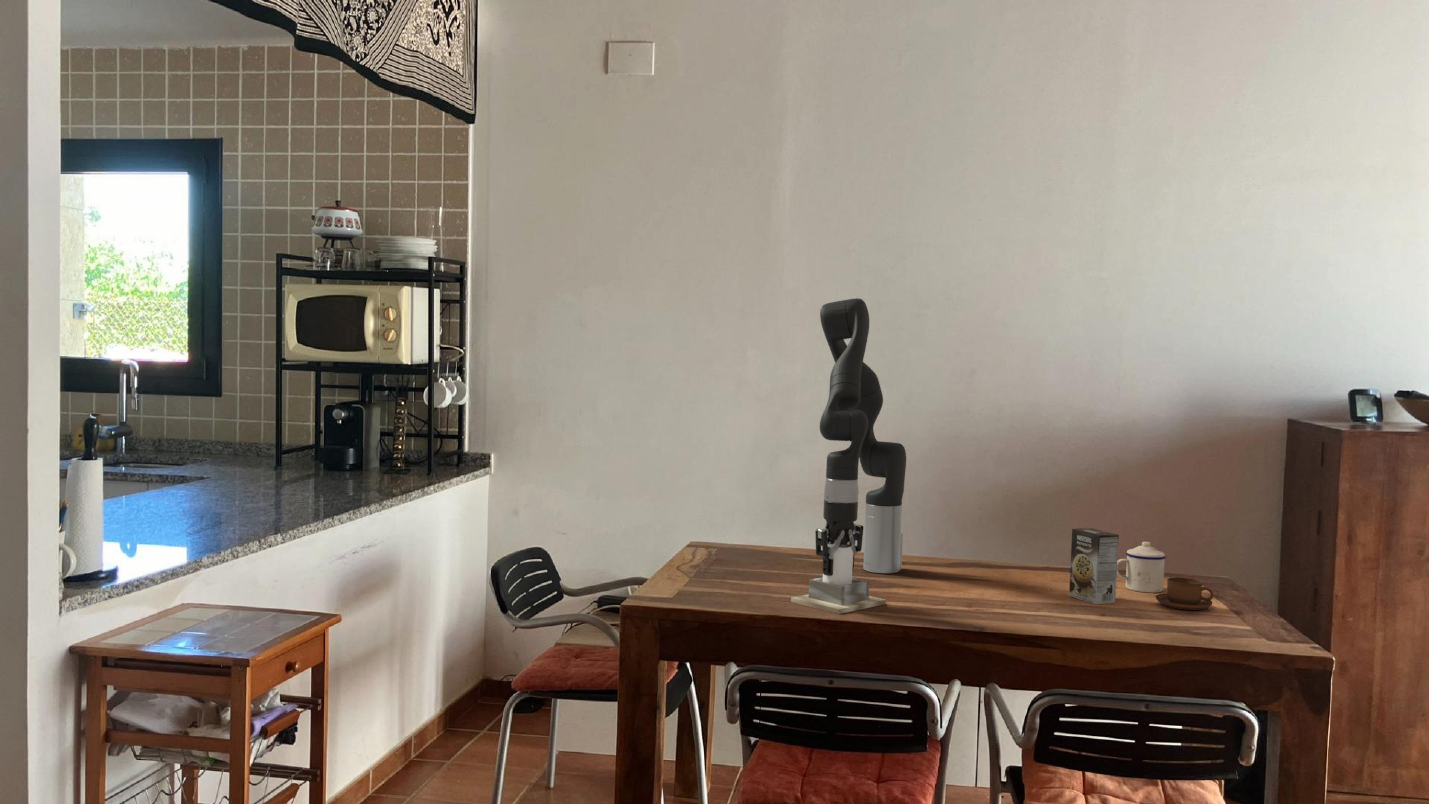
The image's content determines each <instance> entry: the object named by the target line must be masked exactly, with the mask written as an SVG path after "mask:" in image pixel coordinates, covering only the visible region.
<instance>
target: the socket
mask: <svg viewBox="0 0 1429 804" xmlns="http://www.w3.org/2000/svg"><path fill="white" fill-rule="evenodd" d="M790 603H793V604H797V605H802V606H806V607H808V608H809V607H810V608H814V609H817V610H820V611H821V610H822V611H825V612H829V613H833V614H837V615H841V614H845V613H851V612H854V611H855V612H857V611H859V610H865V609H868V608H873V607H878V606H882V605H886V603H887V599H884V598H881V597H875V596H873V595H872V596H871V595H870V581H866V580H862V579H858V578H854V577H852V584H848V585H843V586H840V585H835V584H831V583H827V582H823V576H822V577H818V578H817V577H816V578H812V579H811V578H810V579H809V580H808V594H802V595H798V596H792V597H790Z"/></svg>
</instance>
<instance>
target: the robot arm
mask: <svg viewBox="0 0 1429 804" xmlns="http://www.w3.org/2000/svg"><path fill="white" fill-rule="evenodd" d="M819 311H820V312H819V315H820V317H819V318H820V325H821V328H822V330H823V334H824V336H825V337H824V338H825V340H826V342H827V345H828V347H829V350H830V352H831V355H832V358H833V361H834V365H833V366H832V370H831V372H830V375H829V376H830V377H829V390H828V391H829V392H828V393H829V394H828V400H827V404H826V405H825V408H824V410H823V412H822V415H821V418H820V421H819V431H820V434H821V436H822V437H823V438H824V439H825V440H827V441H835V442H836V441H837V442H850V444H849V446H848V447H847V448H846V449H843V450H838V451H837V450H836V451H831V452H829V453H828V454H827V457H826V469H825V470H826V471H825V483H824V490H823V491H824V494H823V497H824V498H823V516H822V517H823V519H824V520H825V521H826V524H825V526H824V528H816V529H815V555H816V556H819V557H821V558H822V575H823V574H824V575H827V576H831V575H833V559H832V558H833V556H834V553H835V551H836V550H837V549H838V547H839V545H847V546H850V545H852V547H851V548H852V551H853V569H852V573H853V572H854V568H855V556H856V555H857V553H858V552H859V553H860V552H861V551H862V548H863V570H864V571H867V572H870V573H876V574H895V573H898V572H900V571H901V570H902V568H903V567H902V564H903V533H902V507H903V505H902V504H903V497H904V493H905V482H906V481H905V480H906V479H905V478H906V469H907V452H906V449H905V446H904V445H903V444H902V443H899V442H892V441H891V442H890V441H878V440H877V439H876V436H875V429H874V426H875V423H876V421H877V418H878V416H879V415H880V412H881V410H882V408H883V404H884V395H883V391H882V387H881V383H880V381H879V378H878V376H877V374H876V372H875V371H874V370H873V369H872V368H871V367H870V366H869V365H867V364H866V363H865V362H864V358H865V354H866V353H865V352H866V347H867V343H868V337H869V332H870V314H869V310H868V306H867V304H866V302H865V301H864V300H863V299H862V298H860V297H859V298H850V299H842V300H838V301H832V302H827V303H825V304H822V306H821V308H820V309H819ZM849 339H850V341H849V343H848V344H846V342H845V340H849ZM859 462H860V465H861V466H860V467H861V469H862V471H863V472H864V474H865V475H867V476H870V477H875V478H884V479H885V482H884V484H883V486H881V487H880V488H876V489H873V490H869V491H868V492H866V495H865V510H864V511H865V512H864V525H862V524H855V522H856V521H857V520H858V513H859V512H858V509H859V480H858V479H859V478H858V477H859ZM863 536H864V538H863ZM863 541H864V542H863ZM829 543H831V544H829ZM863 545H864V546H863ZM862 546H863V547H862ZM828 549H830V552H829V553H828Z"/></svg>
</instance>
